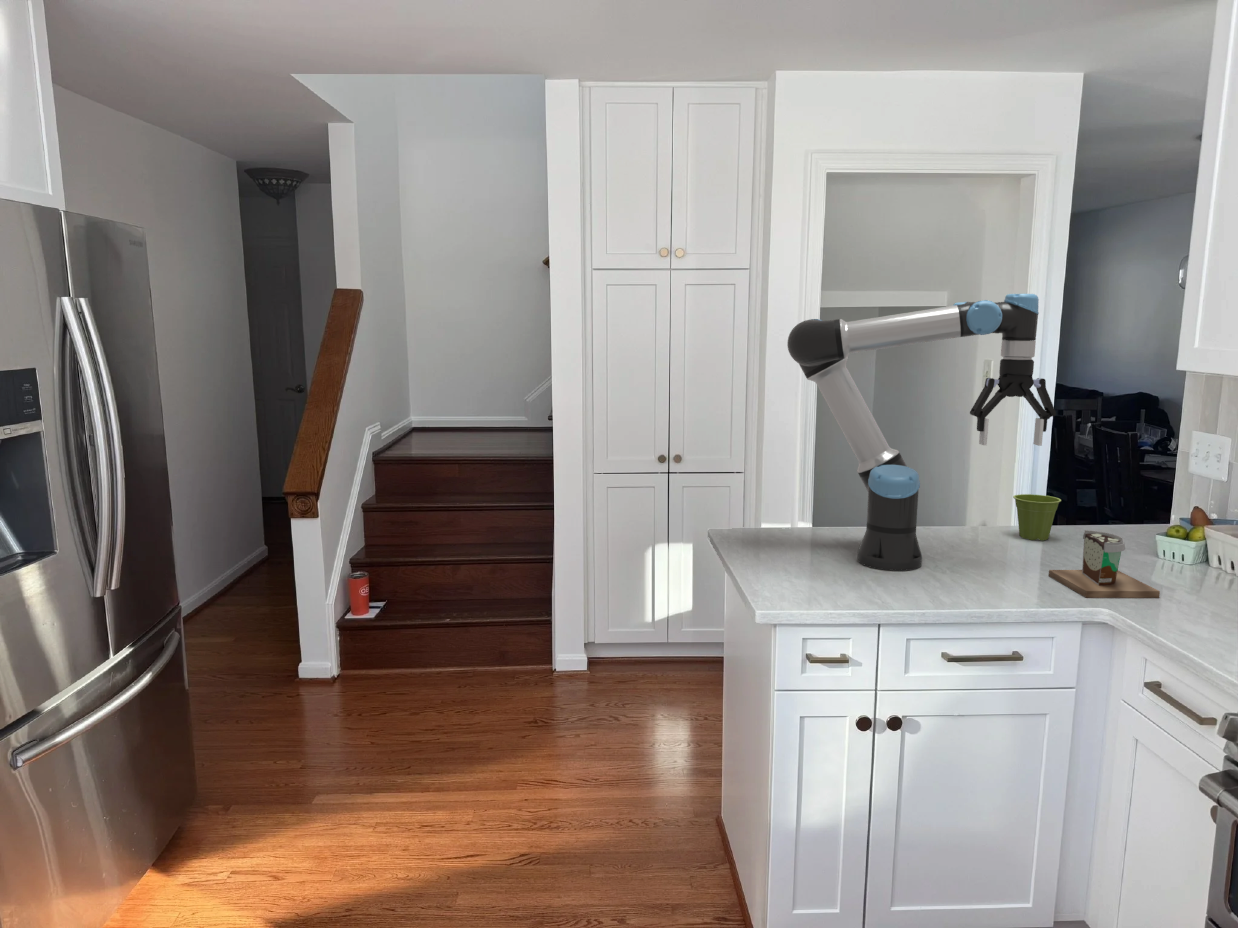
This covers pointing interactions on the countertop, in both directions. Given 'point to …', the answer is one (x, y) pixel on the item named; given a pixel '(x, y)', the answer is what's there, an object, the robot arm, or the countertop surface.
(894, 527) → the robot arm
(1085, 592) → the walnut board
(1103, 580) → the food container
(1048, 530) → the plant pot
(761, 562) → the countertop surface
